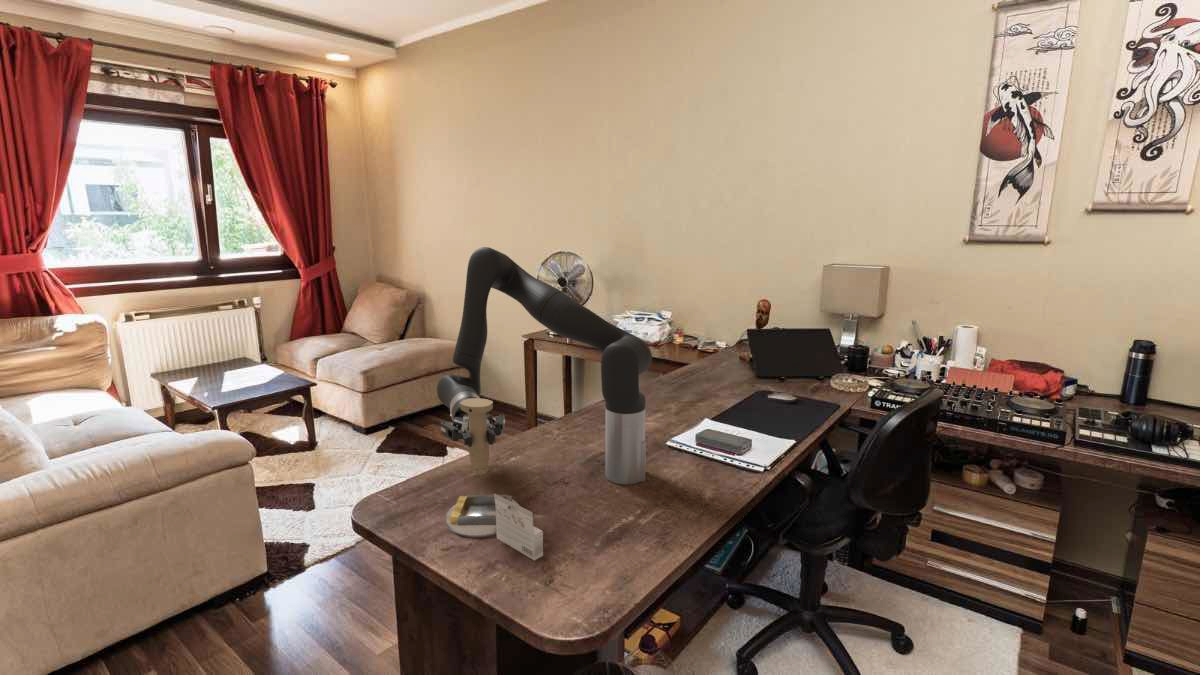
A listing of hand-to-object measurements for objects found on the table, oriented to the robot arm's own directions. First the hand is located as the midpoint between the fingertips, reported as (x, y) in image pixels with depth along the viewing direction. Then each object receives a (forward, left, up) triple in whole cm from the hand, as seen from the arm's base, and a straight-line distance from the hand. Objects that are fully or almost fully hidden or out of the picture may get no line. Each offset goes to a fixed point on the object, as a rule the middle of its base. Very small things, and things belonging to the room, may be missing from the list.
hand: (480, 440), depth 113 cm
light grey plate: (+1, -2, -18) cm, 18 cm away
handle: (+1, -3, -8) cm, 9 cm away
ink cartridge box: (-8, +9, -18) cm, 22 cm away
